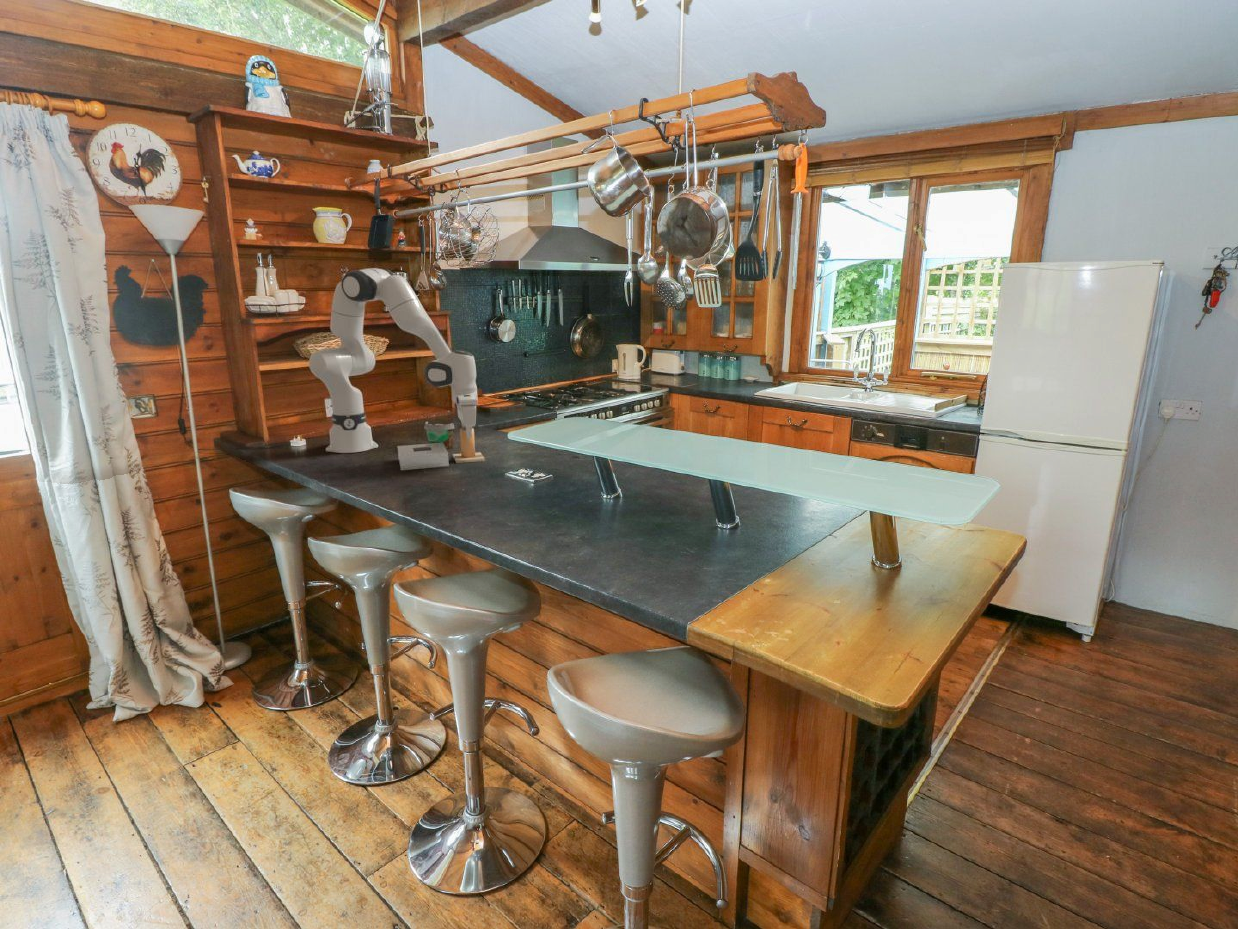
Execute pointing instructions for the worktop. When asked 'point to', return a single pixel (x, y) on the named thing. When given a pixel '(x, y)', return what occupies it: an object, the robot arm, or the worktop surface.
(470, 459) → the coaster
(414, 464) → the housing
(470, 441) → the tan grey-topped cylinder
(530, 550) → the worktop surface
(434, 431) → the food container
